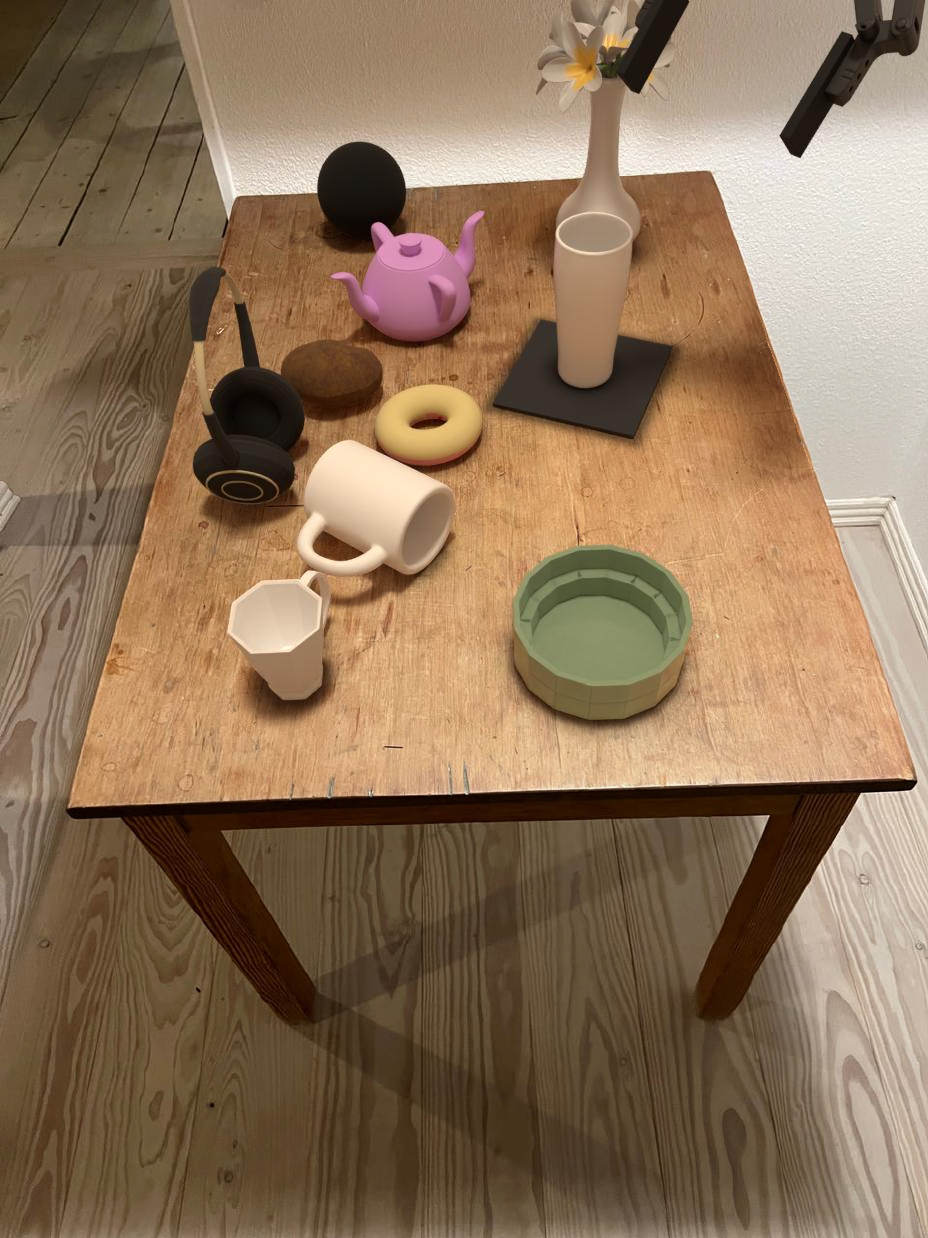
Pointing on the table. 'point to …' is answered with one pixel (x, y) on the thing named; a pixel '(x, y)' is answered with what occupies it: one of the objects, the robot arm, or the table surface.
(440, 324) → the teapot
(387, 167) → the decorative ball
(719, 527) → the table surface
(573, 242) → the drinking glass
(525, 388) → the mat
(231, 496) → the headphones
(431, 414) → the donut
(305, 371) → the potato
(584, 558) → the bowl
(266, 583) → the cup
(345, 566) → the mug
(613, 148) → the flower vase
